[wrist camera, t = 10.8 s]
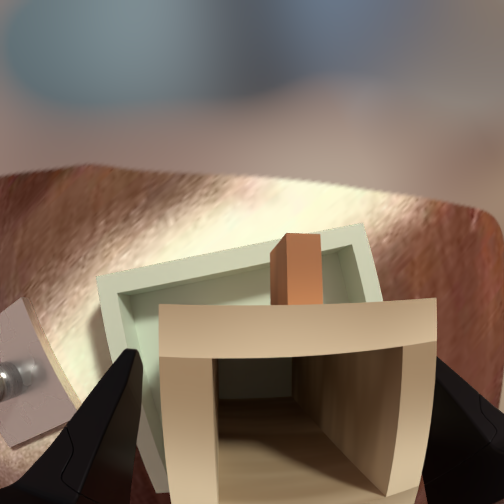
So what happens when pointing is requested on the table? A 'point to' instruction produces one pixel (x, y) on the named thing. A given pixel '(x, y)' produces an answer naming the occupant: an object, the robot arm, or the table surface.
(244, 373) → the green tray
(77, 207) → the table surface
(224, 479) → the birch sleeve
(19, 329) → the stand
